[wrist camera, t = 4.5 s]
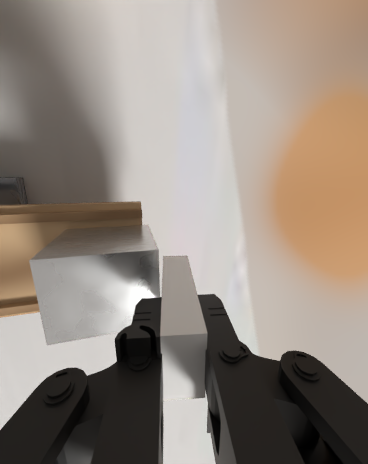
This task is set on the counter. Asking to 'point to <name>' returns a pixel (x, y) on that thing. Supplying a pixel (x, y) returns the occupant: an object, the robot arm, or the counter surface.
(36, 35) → the counter surface
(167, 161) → the counter surface
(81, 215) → the balance beam
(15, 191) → the balance stand
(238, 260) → the counter surface
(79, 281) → the block
